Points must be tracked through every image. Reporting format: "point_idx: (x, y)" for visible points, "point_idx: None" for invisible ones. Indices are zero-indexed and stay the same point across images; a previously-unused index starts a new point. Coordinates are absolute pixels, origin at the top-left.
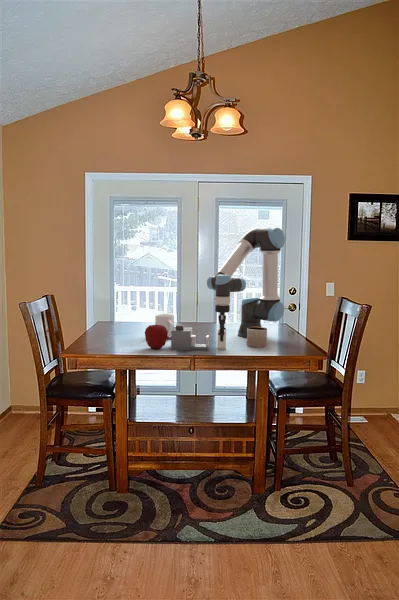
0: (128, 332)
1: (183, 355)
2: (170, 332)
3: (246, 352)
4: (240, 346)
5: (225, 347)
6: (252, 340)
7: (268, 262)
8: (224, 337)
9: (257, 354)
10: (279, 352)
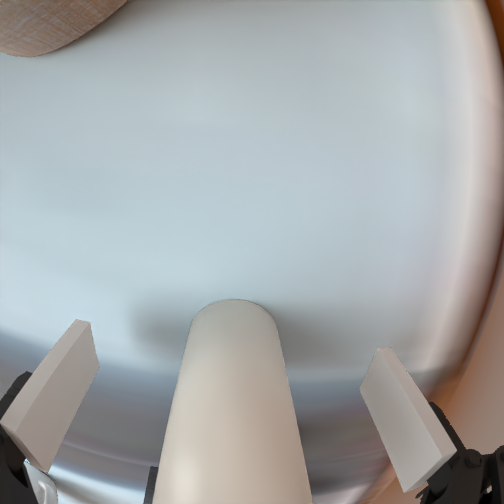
0: None
1: (384, 471)
2: (34, 485)
3: (412, 100)
4: (92, 114)
5: (256, 315)
6: None
7: None
8: (294, 425)
9: (464, 44)
10: None
